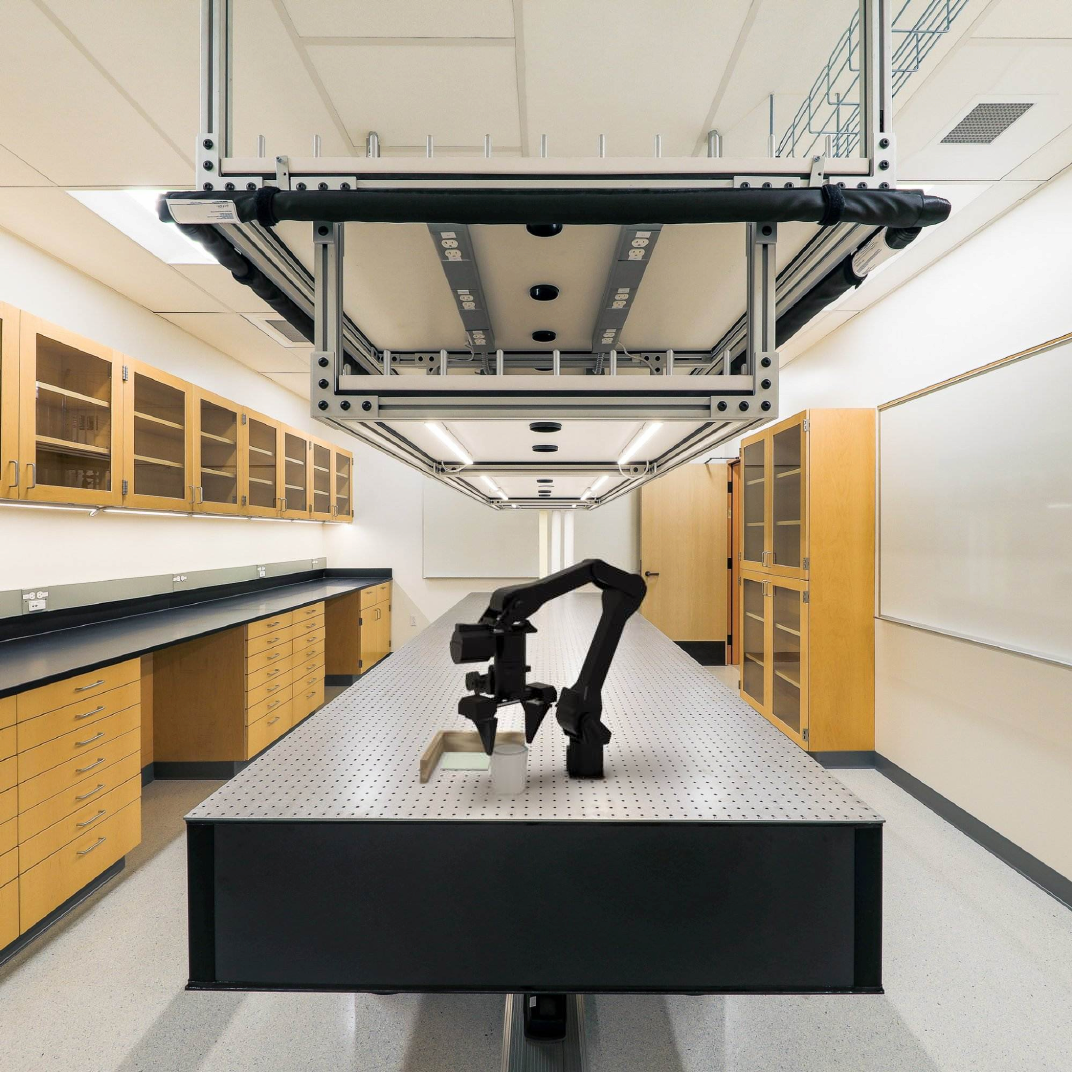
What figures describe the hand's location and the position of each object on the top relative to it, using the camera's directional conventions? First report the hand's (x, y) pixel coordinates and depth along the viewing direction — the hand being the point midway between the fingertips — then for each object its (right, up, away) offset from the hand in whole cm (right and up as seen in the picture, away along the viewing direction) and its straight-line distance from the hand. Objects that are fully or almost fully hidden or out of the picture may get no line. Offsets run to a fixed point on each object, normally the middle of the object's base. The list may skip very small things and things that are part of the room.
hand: (509, 749), depth 104 cm
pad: (-9, -7, +13) cm, 17 cm away
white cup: (0, -7, 0) cm, 7 cm away
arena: (-7, -7, +11) cm, 15 cm away
